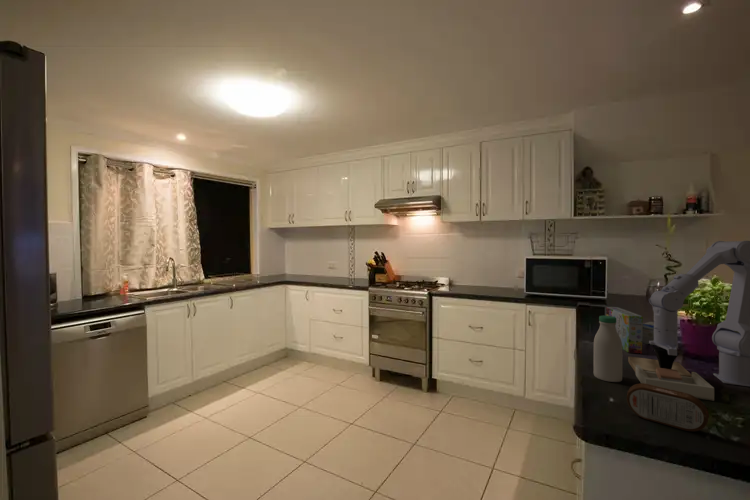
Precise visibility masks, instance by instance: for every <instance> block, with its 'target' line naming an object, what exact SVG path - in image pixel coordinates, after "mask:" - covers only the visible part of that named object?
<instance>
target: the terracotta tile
mask: <svg viewBox="0 0 750 500" xmlns="http://www.w3.org/2000/svg"><path fill="white" fill-rule="evenodd" d="M656 374H657V376H658V378H659V380H661V378H668V379H675V380H682V377H681V376H680V374H679V373H678V371H677V370H673V369H666V368H658V367H656Z"/></svg>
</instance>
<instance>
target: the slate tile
mask: <svg viewBox="0 0 750 500" xmlns="http://www.w3.org/2000/svg"><path fill="white" fill-rule="evenodd" d="M661 380H666V381H674V382H681V383H684V382H683V381H682V380H675V379H668V378H661Z"/></svg>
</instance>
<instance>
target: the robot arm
mask: <svg viewBox="0 0 750 500" xmlns="http://www.w3.org/2000/svg"><path fill="white" fill-rule="evenodd" d="M705 249H706V252H705V254H704V255H703V256H702V257H701V258H700V259H699V260H698V261H697V262H696V263H695V264H694V265H693V266H692V267H691V268H690V269H689V270H688V271H687V272H686V273H679V274H675V275H674V276H673V277H672V278H673V279H672V280H671V281H670V282H668V284H666V285H664V286H663V287H661V288H662V289H661V290H656V291H654V292H653V293H652V294H651V296H650V298H648V302H649V304H650V305H651V306H652V312H653V322H654V340H653V341H649V343H650V344H654V346H653V347H652V349H653V351H654V353H655V355H656V357H657V360H658V362H659V366H660V368H666V369H672V365H673V362H675V360H676V359H677V358H678V356H679V355H680V353H679V352H678V349H679V344H678V311H679V310H680V309H682V308H683V305H684V301H685V300H686V298H687V297H688V296H689V295H691V294H692V293H693V292H694V291H695V290H696V289H697V288H698V287H699V281H700V280H702V278H703V277H705V276H707V275H708V274H709V273H710V272H712V271H713V270H715V268H717V267H719V266H720V265H725V266H727V267H728V268H729V269H731V270H732V272H733V278H732V283H731V289H730V294H729V300H728V305H727V311H726V315H725V320H723V321H721V322H719V323H718V324H716V325H717V326H716V329H715V330H714V332H713V333H712V336H711V340H712V343H713V344H714V345H715V346H716V350H718V352H719V353H718V373H714V372H713V373H712V374H713V376H714V377H715V378H717V379H719V381H721V383H723V384H726V385H727V384H728V385H736V386H742V387H750V240H739V241H737V240H732V241H730V240H729V241H728V240H727V241H725V240H724V241H723V240H718V241H715V242H713V243H712V244H711V245H710V246H708V247H707V248H705Z"/></svg>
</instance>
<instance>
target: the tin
mask: <svg viewBox="0 0 750 500" xmlns="http://www.w3.org/2000/svg"><path fill="white" fill-rule="evenodd" d="M626 394H627V395H626V403H627V405H628V407H629V409H630V410H631V411H632V412H633V413H634V414H635V415H637V416H639V417H640V418H642V419H644V420H646V421H649V422H650V421H651V422H654V423H657V424H661V425H664V426H668V427H672V428H675V429H678V430H682V431H686V432H699V431H701V430H703V429H705V428H706V427H707V425H708V423H709V419H710V414H709V410H708V408H707V406H706V405H705V403H704V402H703V401H701V399H699V398H696V397H695V396H693V395H690V394H688V393H684V392H679V391H675V390H671V389H666V388H662V387H658V386H654V385H649V384H644V383H636V384H632V385H631V386H630V387H629V389H627V393H626Z"/></svg>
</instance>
